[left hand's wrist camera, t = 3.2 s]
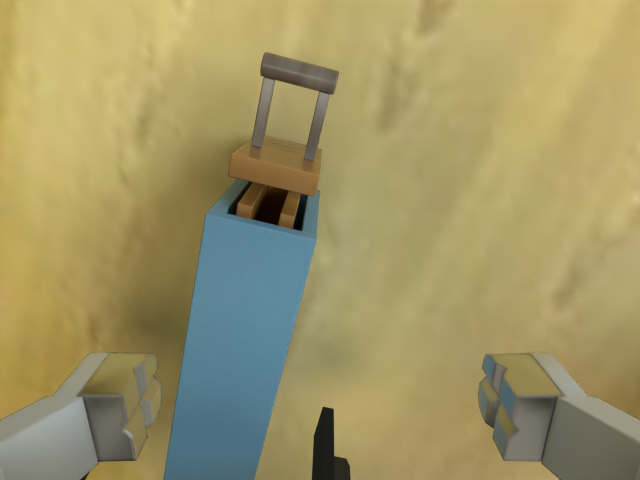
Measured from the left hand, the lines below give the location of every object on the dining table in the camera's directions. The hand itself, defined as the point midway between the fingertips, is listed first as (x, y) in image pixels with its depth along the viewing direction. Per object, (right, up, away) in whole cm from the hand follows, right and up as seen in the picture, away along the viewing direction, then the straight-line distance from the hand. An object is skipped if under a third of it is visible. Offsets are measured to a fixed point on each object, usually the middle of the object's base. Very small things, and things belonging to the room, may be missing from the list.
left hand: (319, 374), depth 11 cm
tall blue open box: (-5, -1, +24) cm, 24 cm away
